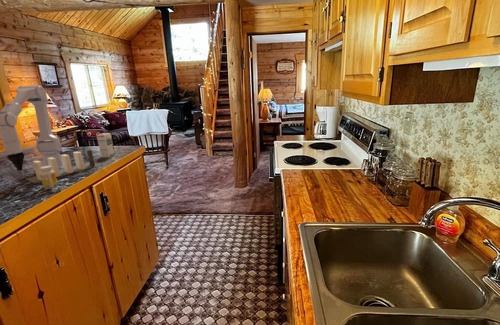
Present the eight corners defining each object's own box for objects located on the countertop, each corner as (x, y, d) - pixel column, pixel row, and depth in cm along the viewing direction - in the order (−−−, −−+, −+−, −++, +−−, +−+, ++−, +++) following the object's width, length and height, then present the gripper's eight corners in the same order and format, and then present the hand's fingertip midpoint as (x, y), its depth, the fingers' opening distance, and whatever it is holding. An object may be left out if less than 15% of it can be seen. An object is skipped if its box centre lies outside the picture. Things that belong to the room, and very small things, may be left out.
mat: (25, 179, 130) (24, 178, 130) (93, 161, 156) (93, 160, 156) (35, 184, 124) (34, 183, 124) (104, 164, 150) (104, 163, 150)
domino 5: (90, 166, 145) (87, 150, 142) (89, 164, 149) (86, 149, 146) (95, 166, 146) (91, 150, 143) (93, 164, 150) (90, 148, 147)
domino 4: (81, 169, 141) (77, 153, 138) (76, 168, 143) (72, 152, 141) (85, 168, 142) (81, 152, 140) (80, 167, 145) (76, 151, 142)
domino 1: (41, 180, 126) (36, 162, 124) (37, 179, 129) (32, 161, 126) (46, 179, 128) (41, 161, 125) (42, 177, 131) (37, 160, 128)
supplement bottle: (45, 190, 115) (39, 169, 113) (42, 187, 119) (36, 167, 116) (60, 186, 119) (54, 166, 117) (56, 184, 123) (50, 164, 120)
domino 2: (56, 176, 131) (51, 159, 128) (51, 175, 134) (46, 158, 131) (60, 175, 133) (55, 158, 130) (56, 174, 135) (51, 157, 133)
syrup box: (109, 157, 163) (104, 134, 159) (101, 157, 165) (96, 134, 160) (115, 155, 169) (111, 132, 164) (107, 155, 170) (102, 132, 166)
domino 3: (69, 173, 136) (64, 156, 133) (64, 171, 139) (60, 155, 136) (73, 172, 137) (69, 155, 135) (68, 170, 140) (64, 154, 137)
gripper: (-9, 145, 109) (2, 176, 113) (34, 138, 120) (42, 166, 125) (-14, 143, 113) (-3, 173, 117) (27, 137, 124) (36, 164, 128)
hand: (20, 170), depth 121 cm, fingers closed
